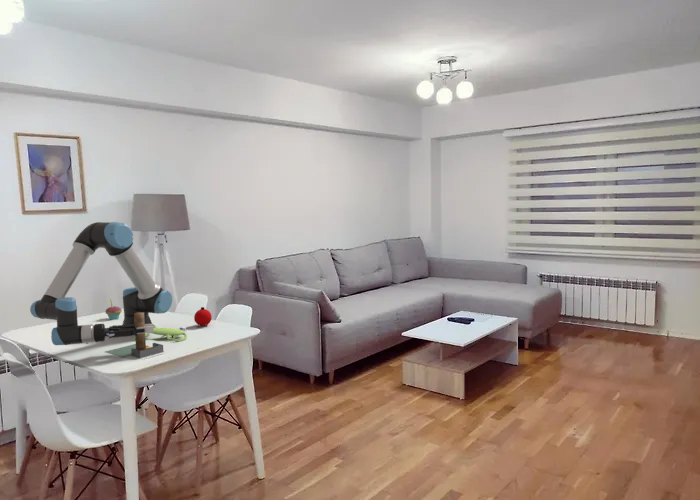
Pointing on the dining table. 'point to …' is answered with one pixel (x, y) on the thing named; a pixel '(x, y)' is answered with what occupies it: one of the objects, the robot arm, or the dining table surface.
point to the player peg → (141, 337)
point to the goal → (147, 351)
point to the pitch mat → (123, 351)
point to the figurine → (168, 333)
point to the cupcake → (113, 312)
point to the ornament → (202, 317)
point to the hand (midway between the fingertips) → (153, 327)
